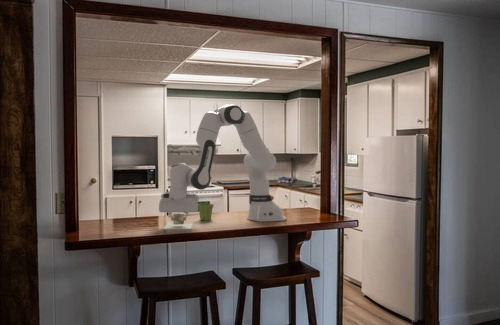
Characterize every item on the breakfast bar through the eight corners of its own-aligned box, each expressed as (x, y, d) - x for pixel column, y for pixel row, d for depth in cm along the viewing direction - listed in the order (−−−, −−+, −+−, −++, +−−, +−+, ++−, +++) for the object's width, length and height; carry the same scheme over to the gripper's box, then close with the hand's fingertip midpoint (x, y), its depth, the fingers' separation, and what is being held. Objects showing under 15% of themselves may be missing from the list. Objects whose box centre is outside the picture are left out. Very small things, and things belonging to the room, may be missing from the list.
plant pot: (211, 218, 250) (211, 203, 249) (215, 220, 241) (215, 205, 241) (196, 219, 247) (195, 204, 246) (199, 221, 238) (199, 206, 238)
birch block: (184, 222, 225) (184, 213, 225) (183, 224, 220) (183, 214, 220) (174, 222, 224) (174, 213, 224) (173, 224, 219) (173, 214, 219)
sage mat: (193, 224, 230) (193, 223, 230) (190, 229, 216) (190, 228, 216) (167, 224, 229) (167, 224, 229) (163, 229, 215) (163, 229, 215)
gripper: (198, 193, 225) (199, 219, 226) (160, 193, 224) (160, 219, 225) (198, 194, 219) (198, 221, 219) (158, 195, 218) (158, 221, 218)
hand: (178, 220), depth 222 cm, fingers closed on birch block, 5 cm apart
